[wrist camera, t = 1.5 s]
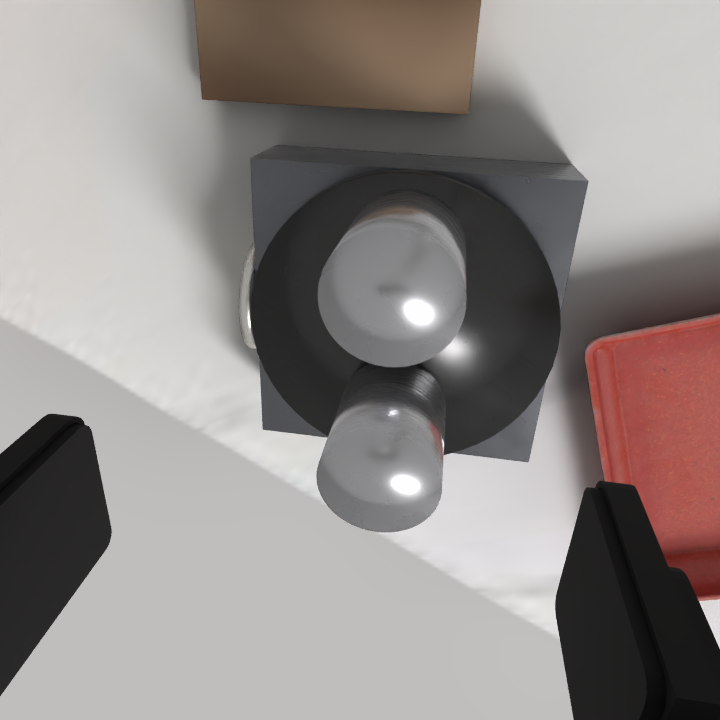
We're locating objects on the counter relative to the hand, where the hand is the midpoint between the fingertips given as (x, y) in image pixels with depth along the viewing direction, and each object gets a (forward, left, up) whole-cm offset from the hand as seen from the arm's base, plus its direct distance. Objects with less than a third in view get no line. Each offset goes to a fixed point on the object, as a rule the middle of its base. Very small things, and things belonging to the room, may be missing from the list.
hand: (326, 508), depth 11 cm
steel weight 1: (0, 0, -16) cm, 16 cm away
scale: (+4, 0, -21) cm, 21 cm away
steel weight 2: (+8, 0, -16) cm, 18 cm away
